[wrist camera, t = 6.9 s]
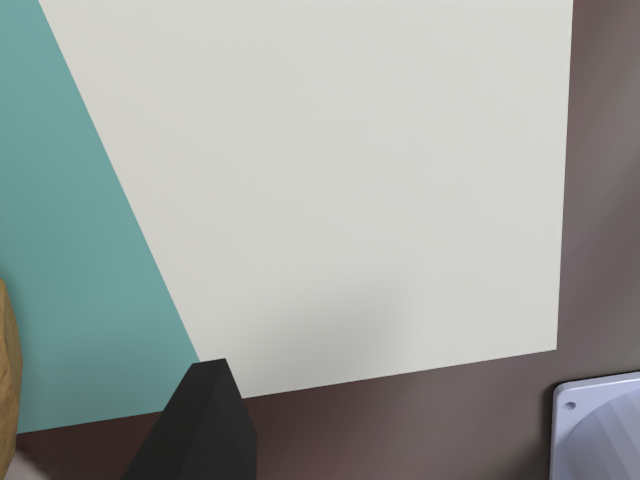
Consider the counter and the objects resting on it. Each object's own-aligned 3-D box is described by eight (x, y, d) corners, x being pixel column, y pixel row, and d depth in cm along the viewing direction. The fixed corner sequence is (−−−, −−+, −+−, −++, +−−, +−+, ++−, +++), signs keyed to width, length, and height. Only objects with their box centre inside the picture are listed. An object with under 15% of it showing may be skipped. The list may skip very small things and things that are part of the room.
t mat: (553, 343, 21) (556, 349, 21) (-211, 463, 24) (-217, 470, 24) (595, -629, 9) (604, -642, 9) (-951, -156, 12) (-977, -157, 12)
